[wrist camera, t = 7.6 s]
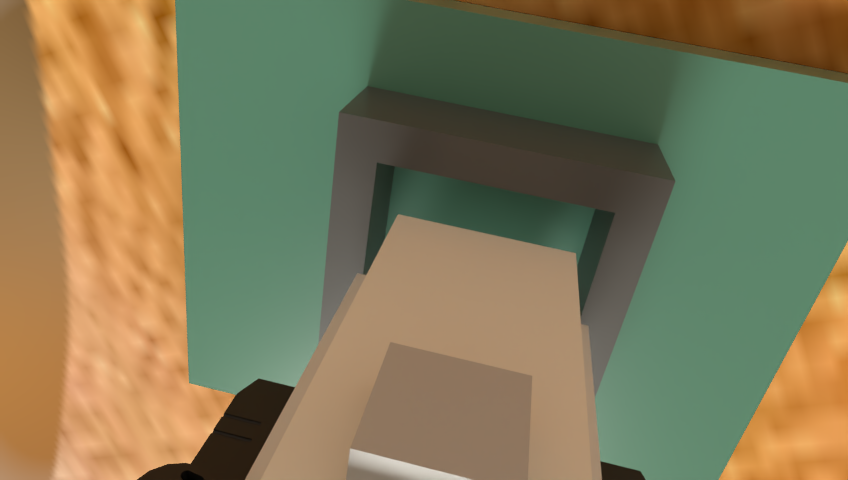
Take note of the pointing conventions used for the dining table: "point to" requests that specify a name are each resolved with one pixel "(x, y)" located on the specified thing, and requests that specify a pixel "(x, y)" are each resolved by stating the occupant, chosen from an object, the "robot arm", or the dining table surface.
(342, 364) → the plug
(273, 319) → the board
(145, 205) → the dining table surface
